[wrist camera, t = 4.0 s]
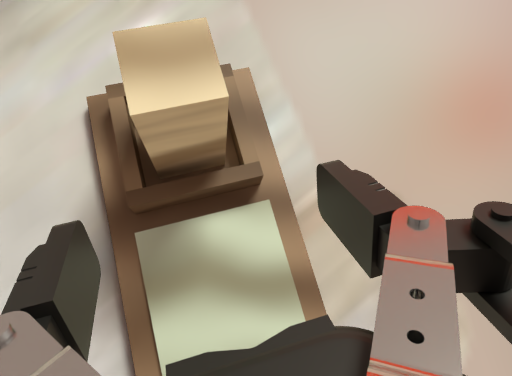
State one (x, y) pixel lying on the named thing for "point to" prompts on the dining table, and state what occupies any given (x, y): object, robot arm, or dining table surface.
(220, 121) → the maple block
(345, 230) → the robot arm
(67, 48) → the dining table surface
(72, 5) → the dining table surface
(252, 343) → the puzzle board
